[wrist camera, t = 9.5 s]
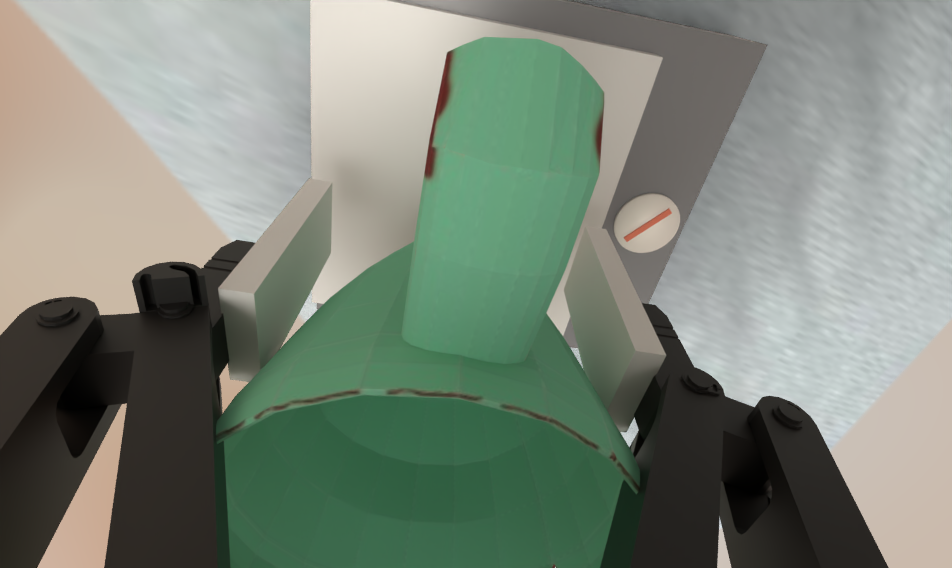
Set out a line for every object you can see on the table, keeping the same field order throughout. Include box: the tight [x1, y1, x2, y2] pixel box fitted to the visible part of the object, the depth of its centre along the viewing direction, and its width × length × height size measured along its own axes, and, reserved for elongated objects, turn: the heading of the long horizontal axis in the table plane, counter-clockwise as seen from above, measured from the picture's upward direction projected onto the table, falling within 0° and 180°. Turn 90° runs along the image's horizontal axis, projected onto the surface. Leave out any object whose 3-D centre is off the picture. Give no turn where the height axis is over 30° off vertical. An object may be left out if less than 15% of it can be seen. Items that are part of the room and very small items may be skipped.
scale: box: [310, 0, 767, 348], centre depth 22 cm, size 16×15×4 cm
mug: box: [216, 37, 640, 568], centre depth 13 cm, size 15×10×10 cm
